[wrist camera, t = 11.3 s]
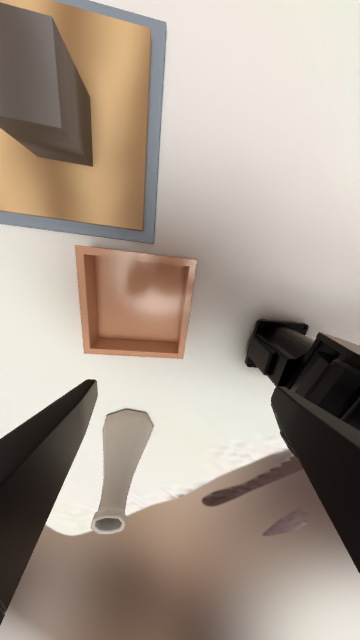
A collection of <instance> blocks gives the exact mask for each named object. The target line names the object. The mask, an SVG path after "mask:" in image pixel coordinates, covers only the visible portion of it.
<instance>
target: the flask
mask: <svg viewBox="0 0 360 640" xmlns="http://www.w3.org/2000/svg"><path fill="white" fill-rule="evenodd" d="M153 427H154V426H153V425H152V423H151V421H150V419H149V417H148V415H147V414H146V413H142V412H136V411H131V410H123V411H120V412H117V413H114V414H111V415H107V416H106V420H105V424H104V427H103V453H104V479H103V487H102V495H101V501H100V505H99V509H98V512H96V513H95V515H94V517H93V521H92V524H91V528H92V529H93V530H94V531H95V532H96V533H97V534H113V533H116V532H119V531H122V530H123V529H124V527H125V524H126V515H125V506H126V500H127V495H128V491H129V488H130V484H131V481H132V477H133V475H134V472H135V470H136V467H137V465H138V462H139V460H140V458H141V456H142V453H143V451H144V449H145V447H146V445H147V442H148V440H149V437H150V435H151V432H152V430H153Z"/></svg>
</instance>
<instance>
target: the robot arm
mask: <svg viewBox="0 0 360 640" xmlns="http://www.w3.org/2000/svg"><path fill="white" fill-rule="evenodd" d="M261 323H262V325H260V324H261ZM307 330H308V325H307V324H305V323H297V322H286V321H274V320H263V319H261V320H258V321H257V323H256V327H255V330H254V334H253V336H252V338H251V341H250V345H249V348H248V352H247V358H246V361H245V364H246V365H247V366H248V367H257V368H259V369H260V371H261V372H262V373H263V374H264V375H267V376H268V377H269V379H270V380H271V381H272V382H273V383H274V385H275V386H276V388H275V389H274V392H273V395H272V397H271V406H272V409H273V412H274V414H275V417H276V420H277V423H278V426H279V429H280V434H281V437H282V438H283V440H284V441H285V443H286V445H287V447H288V448H289V449H290V450H291V452H292V453H293V454H294V455H295V456H296V457H297V458H298V460H299V461H300V463H301V466H302V467H303V469H304V471H305V473H306V474H307V476H308V478H309V480H310V482H311V484H312V486H313V487H314V489H315V491H316V493H317V495H318V497H319V499H320V500H321V502H322V504H323V506H324V508H325V510H326V512H327V514H328V516H329V517H330V519H331V521H332V523H333V525H334V527H335V529H336V530H337V532H338V534H339V536H340V538H341V540H342V542H343V543H344V545H345V547H346V549H347V551H348V553H349V555H350V556H351V558H352V560H353V562H354V564H355V566H356V568H357V569H358V572H359V573H360V346H358V345H356V344H353V343H350V342H347V341H344V340H342V339H339V338H336V337H333V336H330V335H327V334H324V333H322V332H319V333H318V334H317V336H316V337H317V338H316V340H315V341H313V340H312V339H310V338H308V337H306V336H305V335H306V332H307ZM250 362H251V363H250ZM249 363H250V364H249ZM97 396H98V391H97V381H96V380H91V379H88V380H85V381H84V382H82V383H81V384H79V385H78V386H77V387H75V388H74V389H72V390H71V391H69V392H68V393H66V394H65V395H63V396H62V397H61V398H59V399H58V400H56V401H55V402H53V403H52V404H50V405H49V406H47V407H46V408H45V409H43V410H42V411H40V412H39V413H37V414H36V415H34V416H33V417H31V418H30V419H29V420H27V421H26V422H24V423H23V424H21V425H20V426H18V427H17V428H15V429H14V430H13V431H11V432H10V433H8V434H7V435H5V436H4V437H2V438H1V439H0V625H1V623H2V620H3V618H4V616H5V612H6V610H7V609H8V606H9V604H10V602H11V600H12V597H13V595H14V593H15V590H16V588H17V586H18V584H19V582H20V580H21V577H22V575H23V573H24V570H25V568H26V566H27V564H28V562H29V559H30V557H31V555H32V553H33V550H34V548H35V546H36V543H37V541H38V539H39V537H40V535H41V532H42V530H43V528H44V526H45V523H46V521H47V519H48V517H49V514H50V512H51V510H52V508H53V505H54V503H55V501H56V499H57V496H58V494H59V492H60V490H61V487H62V485H63V483H64V481H65V478H66V476H67V474H68V472H69V469H70V467H71V465H72V463H73V460H74V458H75V456H76V454H77V451H78V449H79V447H80V445H81V443H82V440H83V438H84V436H85V433H86V430H87V427H88V424H89V421H90V418H91V415H92V412H93V409H94V406H95V403H96V400H97Z"/></svg>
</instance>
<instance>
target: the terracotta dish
mask: <svg viewBox="0 0 360 640" xmlns="http://www.w3.org/2000/svg"><path fill="white" fill-rule="evenodd" d="M75 251H76V263H77V275H78V287H79V299H80V311H81V323H82V335H83V347H84V353H86V354H104V355H122V356H140V357H159V358H177V359H183V356H184V349H185V342H186V335H187V328H188V321H189V314H190V307H191V300H192V293H193V286H194V279H195V272H196V265H197V260H193V259H185V258H177V257H169V256H161V255H153V254H145V253H137V252H129V251H121V250H112V249H104V248H96V247H88V246H78V245H75Z"/></svg>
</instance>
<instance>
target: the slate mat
mask: <svg viewBox="0 0 360 640" xmlns="http://www.w3.org/2000/svg"><path fill="white" fill-rule="evenodd" d="M52 1H55V2H59V3H63V4H66V5H70V6H73V7H77V8H80V9H84V10H87V11H91V12H95V13H98V14H102V15H105V16H109V17H112V18H116V19H119V20H123V21H127V22H130V23H134V24H137V25H141V26H144V27H148V28H151V41H152V43H151V66H150V89H149V113H148V136H147V159H146V182H145V205H144V228H143V231H136V230H129V229H122V228H115V227H108V226H101V225H94V224H87V223H80V222H73V221H66V220H59V219H52V218H45V217H38V216H31V215H24V214H17V213H10V212H3V211H0V224H7V225H14V226H22V227H30V228H37V229H45V230H53V231H60V232H68V233H76V234H83V235H91V236H99V237H106V238H114V239H121V240H129V241H137V242H144V243H152V244H154V227H155V211H156V194H157V177H158V160H159V143H160V126H161V109H162V93H163V76H164V59H165V42H166V22H163V21H160V20H156V19H153V18H149V17H146V16H142V15H139V14H135V13H131V12H128V11H124V10H121V9H117V8H114V7H110V6H107V5H103V4H100V3H96V2H92V1H89V0H52Z"/></svg>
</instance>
